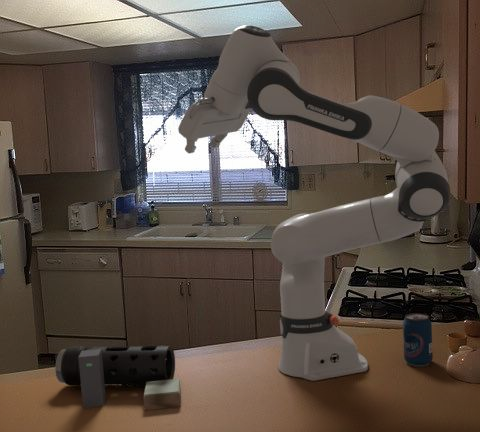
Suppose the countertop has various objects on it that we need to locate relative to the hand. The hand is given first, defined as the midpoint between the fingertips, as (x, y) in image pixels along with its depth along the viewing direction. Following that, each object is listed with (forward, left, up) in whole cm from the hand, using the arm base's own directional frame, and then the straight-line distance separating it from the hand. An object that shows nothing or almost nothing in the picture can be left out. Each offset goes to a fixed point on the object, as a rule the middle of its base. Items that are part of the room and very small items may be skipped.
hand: (201, 149), depth 134 cm
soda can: (-51, -3, -57) cm, 77 cm away
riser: (+13, +5, -57) cm, 59 cm away
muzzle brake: (+25, -7, -57) cm, 63 cm away
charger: (+29, +2, -57) cm, 64 cm away
